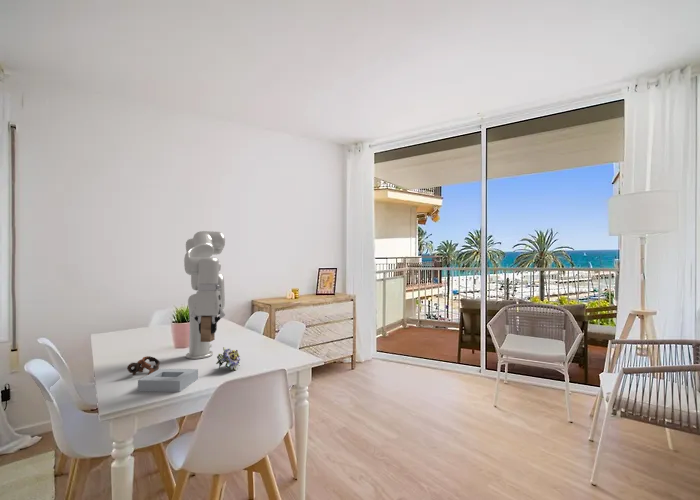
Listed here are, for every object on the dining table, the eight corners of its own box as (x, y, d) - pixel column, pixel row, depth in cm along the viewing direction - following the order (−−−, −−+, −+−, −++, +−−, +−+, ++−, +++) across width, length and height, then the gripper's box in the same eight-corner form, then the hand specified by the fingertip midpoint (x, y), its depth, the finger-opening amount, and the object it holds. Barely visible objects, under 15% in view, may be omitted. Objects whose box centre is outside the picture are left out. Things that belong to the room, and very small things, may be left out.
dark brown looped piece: (147, 370, 156) (156, 354, 156) (155, 384, 150) (165, 367, 150) (119, 370, 146) (129, 353, 146) (127, 385, 140) (137, 367, 140)
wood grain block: (204, 339, 144) (205, 315, 145) (214, 339, 144) (214, 315, 144) (200, 341, 140) (200, 316, 141) (210, 341, 140) (210, 316, 140)
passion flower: (234, 382, 154) (232, 365, 147) (211, 377, 155) (208, 359, 148) (245, 362, 163) (243, 345, 157) (223, 357, 164) (220, 340, 158)
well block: (160, 378, 143) (160, 368, 144) (197, 378, 143) (198, 369, 143) (137, 391, 130) (137, 380, 130) (179, 391, 129) (179, 380, 129)
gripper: (231, 287, 146) (231, 331, 146) (192, 287, 147) (191, 330, 146) (224, 288, 139) (224, 335, 138) (183, 288, 139) (182, 334, 139)
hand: (207, 332), depth 142 cm, fingers closed on wood grain block, 4 cm apart
